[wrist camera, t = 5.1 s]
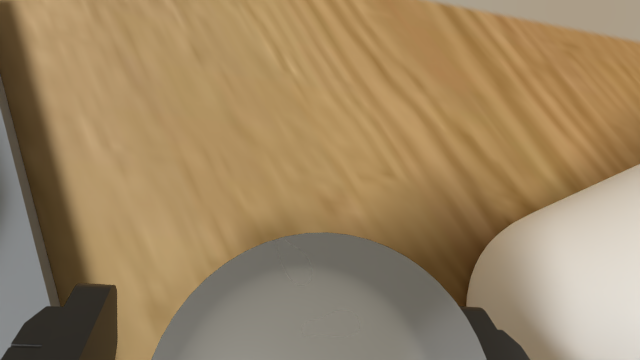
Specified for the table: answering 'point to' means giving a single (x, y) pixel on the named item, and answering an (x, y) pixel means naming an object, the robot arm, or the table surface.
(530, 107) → the table surface
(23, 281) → the ring block
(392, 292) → the piston
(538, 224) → the mug
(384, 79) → the table surface
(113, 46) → the table surface
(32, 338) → the robot arm
